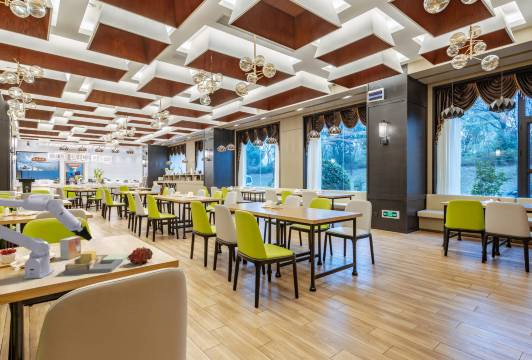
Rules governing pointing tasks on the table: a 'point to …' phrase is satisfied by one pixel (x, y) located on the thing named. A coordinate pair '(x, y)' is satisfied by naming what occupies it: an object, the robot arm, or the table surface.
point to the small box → (70, 247)
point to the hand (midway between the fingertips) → (88, 237)
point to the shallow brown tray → (76, 266)
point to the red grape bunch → (140, 255)
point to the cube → (87, 256)
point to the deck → (103, 264)
